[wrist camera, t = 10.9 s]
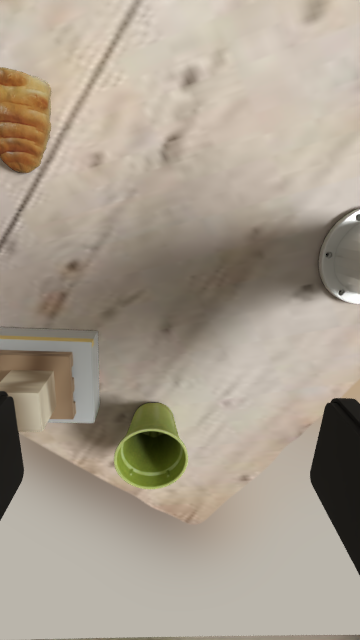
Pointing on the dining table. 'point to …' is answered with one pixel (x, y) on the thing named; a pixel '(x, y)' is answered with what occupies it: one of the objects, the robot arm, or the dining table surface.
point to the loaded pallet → (48, 364)
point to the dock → (83, 362)
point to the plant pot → (151, 449)
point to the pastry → (23, 119)
